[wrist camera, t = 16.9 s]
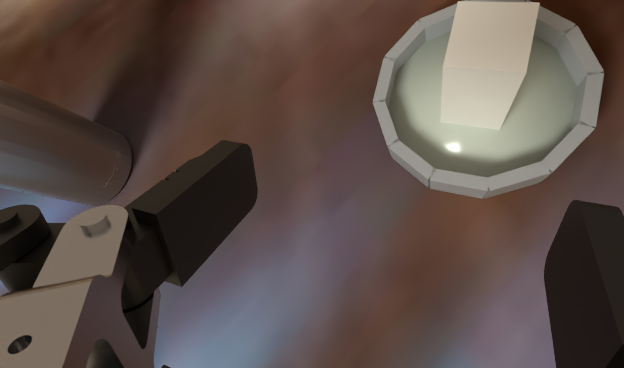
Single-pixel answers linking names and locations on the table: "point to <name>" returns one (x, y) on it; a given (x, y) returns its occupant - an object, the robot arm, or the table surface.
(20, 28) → the table surface
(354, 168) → the table surface
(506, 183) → the round tray
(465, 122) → the cream rectangular block
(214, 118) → the table surface
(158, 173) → the table surface
